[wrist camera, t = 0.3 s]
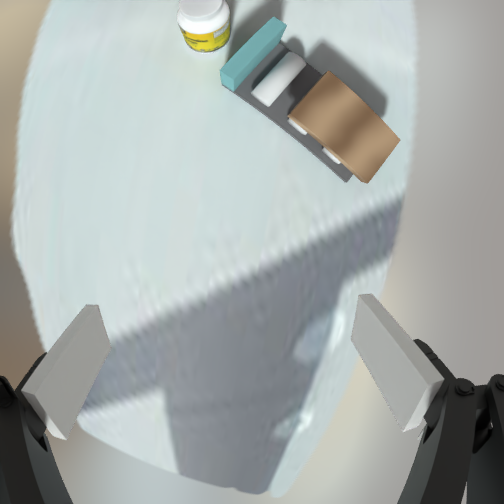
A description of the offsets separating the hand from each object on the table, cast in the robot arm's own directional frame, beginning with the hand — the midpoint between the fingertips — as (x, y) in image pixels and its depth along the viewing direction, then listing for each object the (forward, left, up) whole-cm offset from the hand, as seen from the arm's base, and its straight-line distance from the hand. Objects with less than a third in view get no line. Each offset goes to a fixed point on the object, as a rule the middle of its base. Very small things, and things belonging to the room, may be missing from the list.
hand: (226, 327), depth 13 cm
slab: (-11, +16, -24) cm, 30 cm away
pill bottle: (-26, 0, -28) cm, 38 cm away
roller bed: (-14, +12, -27) cm, 33 cm away
